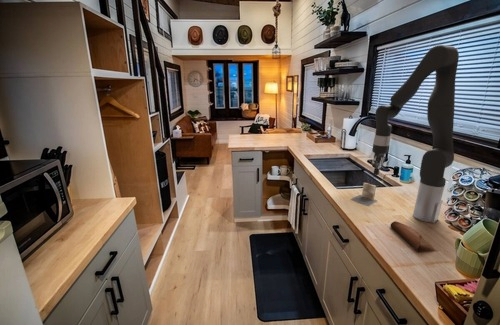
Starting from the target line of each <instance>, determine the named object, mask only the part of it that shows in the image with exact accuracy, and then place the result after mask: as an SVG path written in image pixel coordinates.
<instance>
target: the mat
mask: <svg viewBox="0 0 500 325" xmlns="http://www.w3.org/2000/svg"><path fill="white" fill-rule="evenodd" d="M350 201H353V202H355V203H357V204H361V205H363V206H366V207H369V206H371V205H373V204H374V203H377V202H378V199H377V200H376V199H374V200H370V199H367V198H365V197H362V194H358V195H357V196H355V197H353V198H351V199H350Z"/></svg>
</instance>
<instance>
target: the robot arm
mask: <svg viewBox="0 0 500 325" xmlns="http://www.w3.org/2000/svg"><path fill="white" fill-rule="evenodd" d="M459 58H460V55H459V50H458V49H457V47H455V46H452V45H445V44H443V45H442V44H440V45H439V44H438V45H436V46H435V45H434V46H433V47H431V48H430V49H429V50H428V51H427V52H426V54H425V55H424V56H423V58H422V59H421V61H419V63H418V65H417V66H416V67H415V69H414V70H413V71H412V73H411V74H410V76H409V77H408V78H407V79H406V80H405V82H404V83H403V84H402V85H401V86H400V87H399V88H398V89H397V90H396V91H395V92H394V94H393V95H392V96H391V97H390V103H389V104H382V105H379V106H378V107H377V109H376V110H375V114H374V118H375V125H376V127H375V133H374V138H373V143H372V150H371V151H372V153H374V155H373V159H371V160H370V163H371V166H372V168H373V169H374V170H373V175H374V176H378V175H379V174H380V169H381V167H383V166H384V163H385V161H386V159H387V156H385V155H386V154H388V153H389V149H390V143H391V134H392V124H390V123H388V122H389V120H391V119H394V118H395V117H396V116H398V115H399V114H400V112H401V110H402V109H403V107H404V106H405V105H406V104H407V103H409V101H410V100H411V99H412V98H413V97H414V96H415V95H416V94H417V92H418V91H419V88H420V87H421V85H422V84H423V82H424V81H425V80H426V79H427V78H428V77H429V76H431V75H432V73H434V72H435V80H434V81H435V82H434V87H433V89H432V91H431V93H430V96H429V98H428V101H427V109H426V110H427V111H426V112H427V114H426V115H427V121H428V125H429V128H430V131H431V134H432V147H431V148H432V149H429V150H427V151H425V152H424V154H423V155H422V158H421V163H420V168H419V178H420V180H419V185H418V190H417V194H416V199H415V202H414V203H415V204H414V209H413V212H412V216H413V217H414V218H415V219H417V220H419V221H423V222H424V223H425V222H426V223H431V224H435V223H436V222H437V221H439V220H438V219H439V216H440V213H441V209H442V206H443V205H442V203H443V194H444V190H445V186H446V182H447V180H446V178H445V177H444V176H445V175H444V174H445V170H446V168H449V167H450V166H451V165H452V164H453V162H454V160H455V151H454V138H453V137H454V136H453V134H454V122H455V121H454V120H455V118H454V117H455V105H456V104H455V100H456V99H455V97H456V95H455V93H456V77H457V72H458V64H459Z"/></svg>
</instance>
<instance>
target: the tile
mask: <svg viewBox="0 0 500 325" xmlns="http://www.w3.org/2000/svg"><path fill="white" fill-rule="evenodd" d="M362 184H363V185H362V193H361V195H362V197H365V198H367V199H370V200H375V194H376V189H377V185H375V184H372V183H369V182H363V183H362Z"/></svg>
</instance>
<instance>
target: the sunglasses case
mask: <svg viewBox="0 0 500 325" xmlns="http://www.w3.org/2000/svg"><path fill="white" fill-rule="evenodd" d="M390 227H391V229H392V230H394V231H395V232H396V233H397V234H399V235H400V236H401V237H402V238H403V239H404V240H405V241H406V242H407V243H408V244H409V245H410V246H411V247H412V248H413V249H414V250H415V251H417V253H419V254H420V253H432V252H437V250H436V248H434V246H433V245H432V244H431V243H430V242H429V241H428V240H427V239H425V238H424V237H423V236H422V234H421V233H420V232H418V231H417V230H416V229H414V228H412V227H411V226H408V225H406V224H404V223H402V222H399V221H397V220H394V221H392V222H391V223H390Z"/></svg>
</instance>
